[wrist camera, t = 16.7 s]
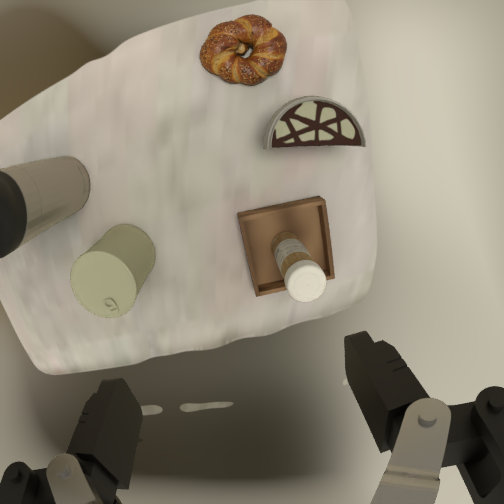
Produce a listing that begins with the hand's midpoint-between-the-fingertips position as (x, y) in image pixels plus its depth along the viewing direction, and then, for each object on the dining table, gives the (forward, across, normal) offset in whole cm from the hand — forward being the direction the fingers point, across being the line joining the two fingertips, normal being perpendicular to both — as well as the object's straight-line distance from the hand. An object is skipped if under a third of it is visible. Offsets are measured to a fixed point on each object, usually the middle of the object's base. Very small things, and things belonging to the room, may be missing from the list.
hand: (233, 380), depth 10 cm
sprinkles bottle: (+36, -7, +9) cm, 37 cm away
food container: (+36, -12, -8) cm, 39 cm away
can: (+36, +17, +5) cm, 40 cm away
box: (+36, -7, +9) cm, 38 cm away
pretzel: (+37, -6, -20) cm, 42 cm away
